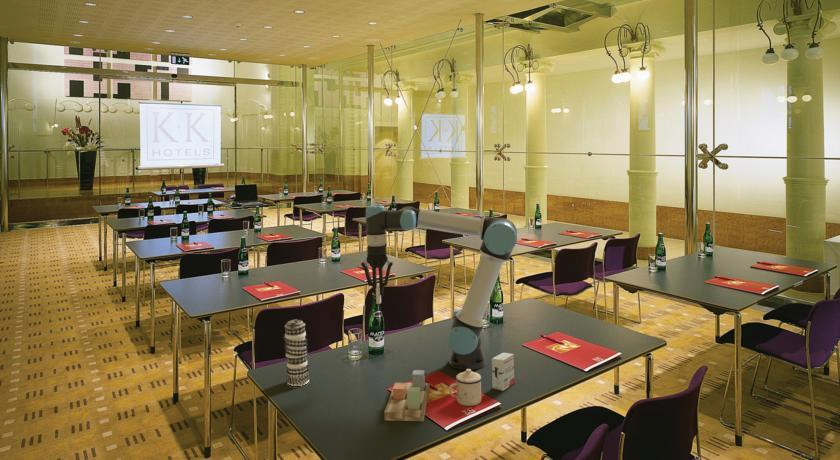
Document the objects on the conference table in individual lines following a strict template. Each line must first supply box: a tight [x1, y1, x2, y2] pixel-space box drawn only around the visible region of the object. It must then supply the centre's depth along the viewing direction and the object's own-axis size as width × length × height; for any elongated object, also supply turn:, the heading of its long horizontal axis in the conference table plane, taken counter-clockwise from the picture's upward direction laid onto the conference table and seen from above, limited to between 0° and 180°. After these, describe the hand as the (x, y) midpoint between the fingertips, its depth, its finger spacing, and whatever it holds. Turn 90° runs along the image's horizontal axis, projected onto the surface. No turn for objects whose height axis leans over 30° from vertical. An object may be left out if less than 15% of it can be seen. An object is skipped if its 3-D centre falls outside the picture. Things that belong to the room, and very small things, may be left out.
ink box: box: [491, 352, 515, 392], centre depth 211 cm, size 8×5×12 cm, turn 140°
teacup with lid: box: [448, 369, 483, 407], centre depth 199 cm, size 12×9×12 cm
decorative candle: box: [283, 318, 310, 387], centre depth 219 cm, size 9×9×25 cm
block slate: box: [411, 369, 426, 391], centre depth 204 cm, size 4×4×6 cm
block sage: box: [407, 387, 421, 410], centre depth 190 cm, size 4×4×6 cm
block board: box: [383, 382, 431, 422], centre depth 198 cm, size 13×24×3 cm, turn 174°
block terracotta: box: [392, 383, 406, 400], centre depth 198 cm, size 4×4×6 cm
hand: (378, 302), depth 224 cm, fingers closed
